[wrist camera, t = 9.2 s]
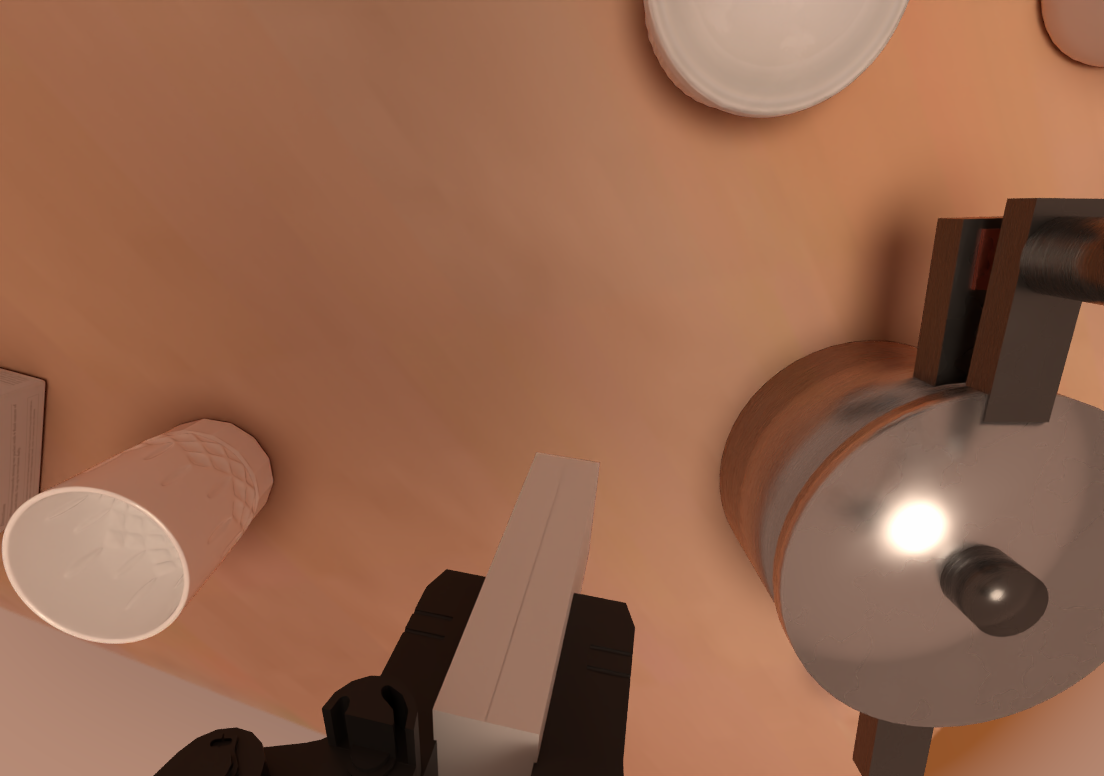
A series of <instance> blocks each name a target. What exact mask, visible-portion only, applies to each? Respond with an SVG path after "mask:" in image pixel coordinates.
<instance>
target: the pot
mask: <svg viewBox="0 0 1104 776" xmlns="http://www.w3.org/2000/svg"><path fill="white" fill-rule="evenodd" d="M1002 221H1003V216H1001V217H966V218H938V222H937V228H936V235H935V241H934V247H933V254H932V260H931V266H930V273H929V279H928V285H927V292H926V298H925V304H924V311H923V317H922V323H921V329H920V336H919V342H918V348H916V347H913V346H909V345H906V344H902V343H896V342H890V341H870V340H869V341H858V342H849V343H845V344H840V345H835V346H831V347H828V348H826V349H823V350H820V351H817V352H814V353H812V354H810V355H808V356H806V357H804V358H802V359H800V360H798V361H796V362H794V363H793V364H791V365H790V366H788V367H786V368H785V369H783V370H782V371H780V372H779V373H778V374H777V375H775V376H774V377H773V378H772V379H770V380H769V381H768V382H767V383H766V384H765V385H764V386H763V387H762V388H761V389H760V390H759V391H758V392H757V393H756V394H755V395H754V396H753V397H752V398H751V400H750V401H749V402H748V404H747V405H746V406H745V408H744V409H743V410H742V412H741V413H740V415H739V417H738V419H737V420H736V422H735V424H734V425H733V427H732V430H731V432H730V435H729V437H728V439H727V442H726V445H725V449H724V452H723V456H722V461H721V468H720V494H721V500H722V506H723V509H724V512H725V515H726V518H727V520H728V522H729V525H730V527H731V529H732V531H733V533H734V534H735V536H736V538H737V539H738V541H739V543H740V545H741V546H742V548H743V550H744V551H745V553H746V555H747V557H748V558H749V560H750V562H751V564H752V565H753V567H754V569H755V570H756V572H757V574H758V576H759V577H760V579H761V581H762V582H763V584H764V586H765V588H766V589H767V591H768V593H769V594H770V596H771V598H772V600H773V601H774V592H773V581H772V580H773V563H774V556H775V551H776V547H777V542H778V538H779V535H780V532H781V530H782V527H783V524H784V521H785V519H786V516H787V514H788V512H789V510H790V508H791V507H792V505H793V503H794V501H795V499H796V497H797V495H798V494H799V492H800V491H801V489H802V488H803V487H804V485H805V484H806V482H807V481H808V479H809V478H810V476H811V475H812V474H813V473H814V472H815V470H816V469H817V468H818V467H819V466H820V465H821V464H822V463H823V461H824V460H825V459H826V458H827V457H828V456H829V455H830V454H831V453H832V452H833V451H834V450H835V449H837V448H838V447H839V446H840V445H841V444H842V443H843V442H844V441H845V440H847V439H848V438H849V437H850V436H852V435H853V434H855V433H856V432H857V431H859V430H860V429H861V428H863V427H864V426H866V425H867V424H868V423H870V422H872V421H873V420H875V419H877V418H879V417H880V416H882V415H884V414H886V413H887V412H889V411H891V410H893V409H895V408H897V407H899V406H902V405H904V404H906V403H909V402H911V401H913V400H916V399H918V398H921V397H924V396H927V395H931V394H934V393H937V392H941V391H944V390H948V389H954V388H959V387H965V386H966V381H967V377H968V372H969V368H970V364H971V359H972V355H973V350H974V346H975V341H976V337H977V332H978V328H979V323H980V319H981V314H982V310H983V305H984V301H985V297H986V292H987V288H988V283H989V279H990V274H991V270H992V265H993V261H994V256H995V252H996V247H997V243H998V238H999V234H1000V229H1001V225H1002ZM774 603H775V601H774ZM933 728H934V727H920V726H910V725H904V724H897V723H892V722H888V721H885V720H881V719H878V718H874V717H871V716H869V715H867V714H864V713H862V712H860V715H859V721H858V727H857V734H856V740H855V746H854V752H853V761H854V762H855V764H856V766H857V768H858V770H859V771H860V773H861V775H862V776H924V772H925V767H926V762H927V757H928V753H929V748H930V742H931V738H932V733H933Z"/></svg>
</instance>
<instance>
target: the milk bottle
mask: <svg viewBox="0 0 1104 776" xmlns="http://www.w3.org/2000/svg"><path fill="white" fill-rule="evenodd" d="M1041 5H1042V16H1043V20H1044V23H1045V27H1046V30H1047V32H1048V34H1049V35H1050V37H1051V39H1052V42H1053V43H1054V44H1055V45H1056V46H1057V47H1058V48H1059V49H1060V51H1061V52H1063V53H1064V54H1066V55H1067V56H1069V57H1070V58H1072V59H1073V60H1076V61H1079V62H1082V63H1084V64H1087V65H1091V66H1097V67H1104V0H1041Z"/></svg>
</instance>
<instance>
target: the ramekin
mask: <svg viewBox="0 0 1104 776" xmlns="http://www.w3.org/2000/svg"><path fill="white" fill-rule="evenodd" d="M643 1H644V9H645V24H646V27H647V30H648V38H649V41H650V43H651V44H652V47H653V52H654V54H655V55H656V57H657V58H658V60H659V63H660V65H661V67H662V68H663V69H664V71H665V72H666V74H667V76H668V77H669V79H671V80H672V82H673V83H674V84H675V86H676V87H678V88H679V89H681V90H682V91H683V93H684V94H686V95H687V96H690V97H692V98H693V99H694V100H695V101H697V102H700V103H703V104H705V105H706V106H708V107H713V108H717V109H719V110H722V111H724V112H727V113H730V114H734V115H738V116H744V117H752V118H771V117H779V116H784V115H789V114H793V113H796V112H799V111H802V110H805V109H808V108H810V107H812V106H815V105H817V104H819V103H821V102H823V101H825V100H827V99H829V98H831V97H832V96H834V95H836V94H837V93H839V92H840V91H842V90H843V89H844V88H846V87H847V86H848V85H850V84H851V83H852V82H853V81H854V80H855V79H856V78H858V77H859V76H860V75H861V74H862V73H863V72H864V71H865V70H866V69H867V68H868V67H869V66H870V65H871V64H872V63H873V61H874V60H875V59H876V58H877V57H878V55H879V54H880V53H881V51H882V50H883V49H884V47H885V46H886V44H887V43H888V41H889V40H890V38H891V36H892V35H893V33H894V31H895V30H896V28H897V26H898V24H899V22H900V20H901V18H902V16H903V14H904V11H905V9H906V7H907V4H908V2H909V0H643Z"/></svg>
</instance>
